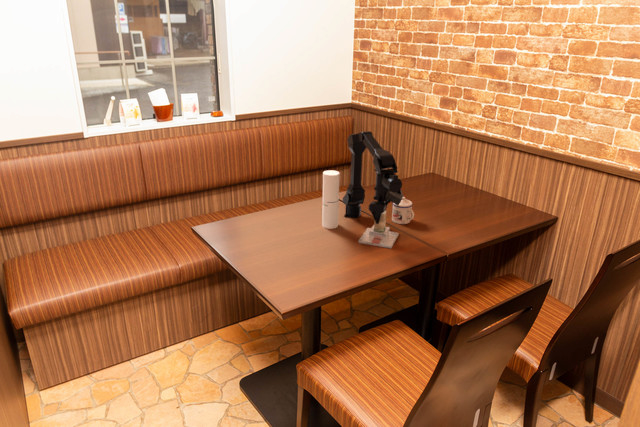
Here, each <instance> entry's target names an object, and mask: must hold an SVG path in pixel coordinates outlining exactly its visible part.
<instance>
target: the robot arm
mask: <svg viewBox="0 0 640 427" xmlns="http://www.w3.org/2000/svg"><path fill="white" fill-rule="evenodd" d="M347 147H348V149H349V151H350V153H351V158H350V159H351V161H350V183H349V185H348V186H347V188H346V192H345V195H344V196H343V197H342V203H343V204H344V205H345V214H344V217H345V218H351V219H358V218H359V217H360V216H361V214H362V206H361V205H363V204H364V201H365V198H366V194H365V193H366V190H365V188H364V187H363V186H362V172H363V168H362V167H363V154H364V152H365V151H366V149H367V151H369V153H370V154H371V156H372V158H373V160H372V162H373V165H374V167H375V168H374V171H375V172H376V176H375V186H374V189H373V190H374V196H373V200H372V201H371V202H370V203H369V205H368V211H369V212H370V213H371V215H372V217H373V220H375V222H376V224H379V222H380V218H381V214H382V213H384V211H387V208H388V205H389V204H390V203H392V204H393V203H395V204H396V205H399V204H400V202H401V200H402V198H403V197H404V194H403V191H402V190H403V189H402V187H403V182H402V180H401V179H400V178H399V175H398V172H399V170H398V168H399V167H398V165H397V163H396V159H395V157H394V155H393V154H392V153H391V152H390V151H388V150H386V149H384V148H383V147H382V146H381V144H380V143H379V142H378V141H377V139H376V138H375V136H374V135H373V132H372V131H369V130H366V131H364V130H363V131H361V132H358V133H352V134H351V133H350V134H349V135H348V137H347Z"/></svg>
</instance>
